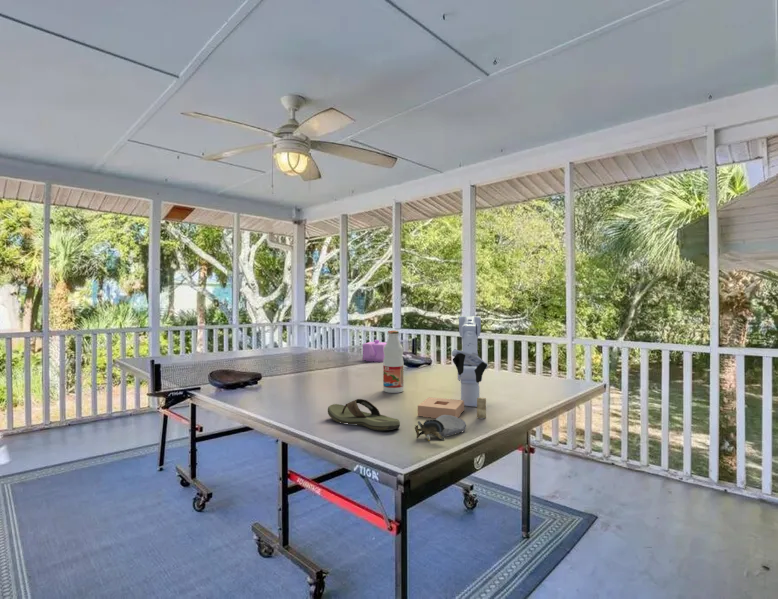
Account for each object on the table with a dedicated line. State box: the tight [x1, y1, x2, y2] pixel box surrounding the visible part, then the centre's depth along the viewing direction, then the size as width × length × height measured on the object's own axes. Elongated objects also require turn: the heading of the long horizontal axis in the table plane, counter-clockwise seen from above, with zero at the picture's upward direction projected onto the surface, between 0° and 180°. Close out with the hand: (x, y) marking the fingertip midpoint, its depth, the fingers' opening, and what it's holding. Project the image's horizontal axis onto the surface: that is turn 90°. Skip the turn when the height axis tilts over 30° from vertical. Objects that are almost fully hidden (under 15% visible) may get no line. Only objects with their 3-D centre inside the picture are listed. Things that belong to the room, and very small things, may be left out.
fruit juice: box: [382, 330, 405, 394], centre depth 203 cm, size 9×9×28 cm
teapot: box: [362, 339, 387, 363], centre depth 299 cm, size 15×25×14 cm, turn 159°
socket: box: [417, 396, 465, 419], centre depth 165 cm, size 14×14×4 cm
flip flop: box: [327, 398, 401, 432], centre depth 152 cm, size 29×12×8 cm, turn 51°
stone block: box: [435, 415, 467, 437], centre depth 144 cm, size 12×5×10 cm
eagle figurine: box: [414, 418, 445, 442], centre depth 136 cm, size 8×7×9 cm
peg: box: [476, 397, 487, 419], centre depth 159 cm, size 3×3×7 cm
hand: (469, 377), depth 158 cm, fingers open, 7 cm apart
